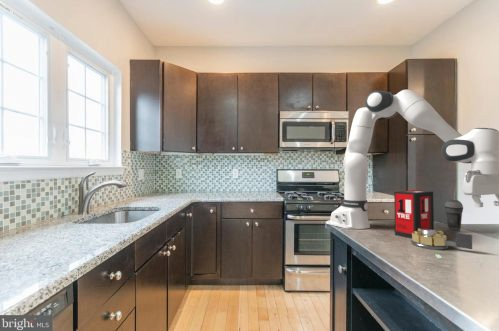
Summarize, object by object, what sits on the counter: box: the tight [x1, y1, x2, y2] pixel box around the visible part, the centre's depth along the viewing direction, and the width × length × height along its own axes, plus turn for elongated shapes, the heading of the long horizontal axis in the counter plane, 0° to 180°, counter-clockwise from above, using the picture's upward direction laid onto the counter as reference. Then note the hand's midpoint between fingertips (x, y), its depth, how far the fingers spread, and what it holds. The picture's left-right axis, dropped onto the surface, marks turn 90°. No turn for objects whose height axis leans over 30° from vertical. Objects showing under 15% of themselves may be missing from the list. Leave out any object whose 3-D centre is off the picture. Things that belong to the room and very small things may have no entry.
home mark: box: [435, 254, 443, 260], centre depth 87 cm, size 4×1×1 cm, turn 155°
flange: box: [410, 229, 449, 251], centre depth 101 cm, size 12×12×6 cm
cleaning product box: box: [393, 189, 435, 240], centre depth 118 cm, size 16×9×20 cm, turn 121°
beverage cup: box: [444, 190, 464, 233], centre depth 124 cm, size 7×7×20 cm
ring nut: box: [411, 228, 473, 250], centre depth 98 cm, size 18×11×5 cm, turn 45°
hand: (488, 206), depth 96 cm, fingers open, 8 cm apart
